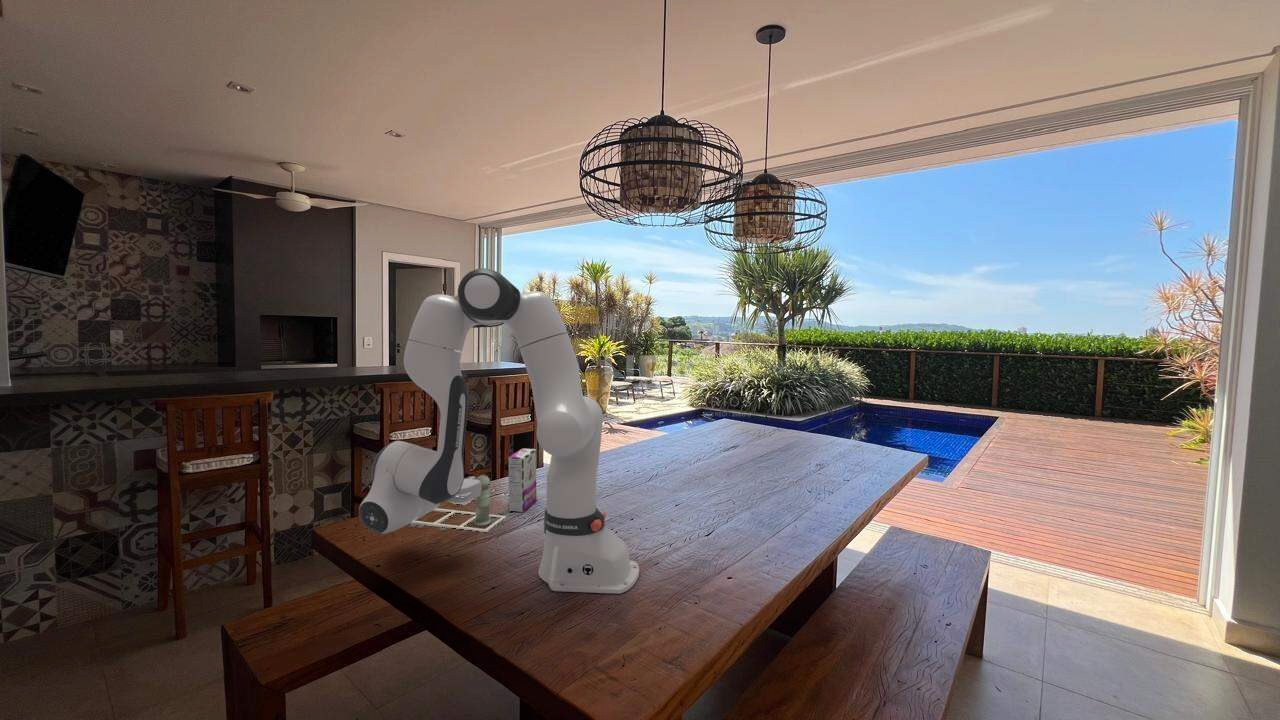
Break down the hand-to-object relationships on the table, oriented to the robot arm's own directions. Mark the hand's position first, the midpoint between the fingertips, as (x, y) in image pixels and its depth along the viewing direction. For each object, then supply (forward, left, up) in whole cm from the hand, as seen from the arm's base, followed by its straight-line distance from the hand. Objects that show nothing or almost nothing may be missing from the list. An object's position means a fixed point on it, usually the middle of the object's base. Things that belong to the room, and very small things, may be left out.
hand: (456, 477), depth 136 cm
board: (+7, -11, -16) cm, 21 cm away
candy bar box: (-5, -28, -17) cm, 33 cm away
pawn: (0, -12, -16) cm, 20 cm away
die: (+14, -26, -16) cm, 34 cm away
